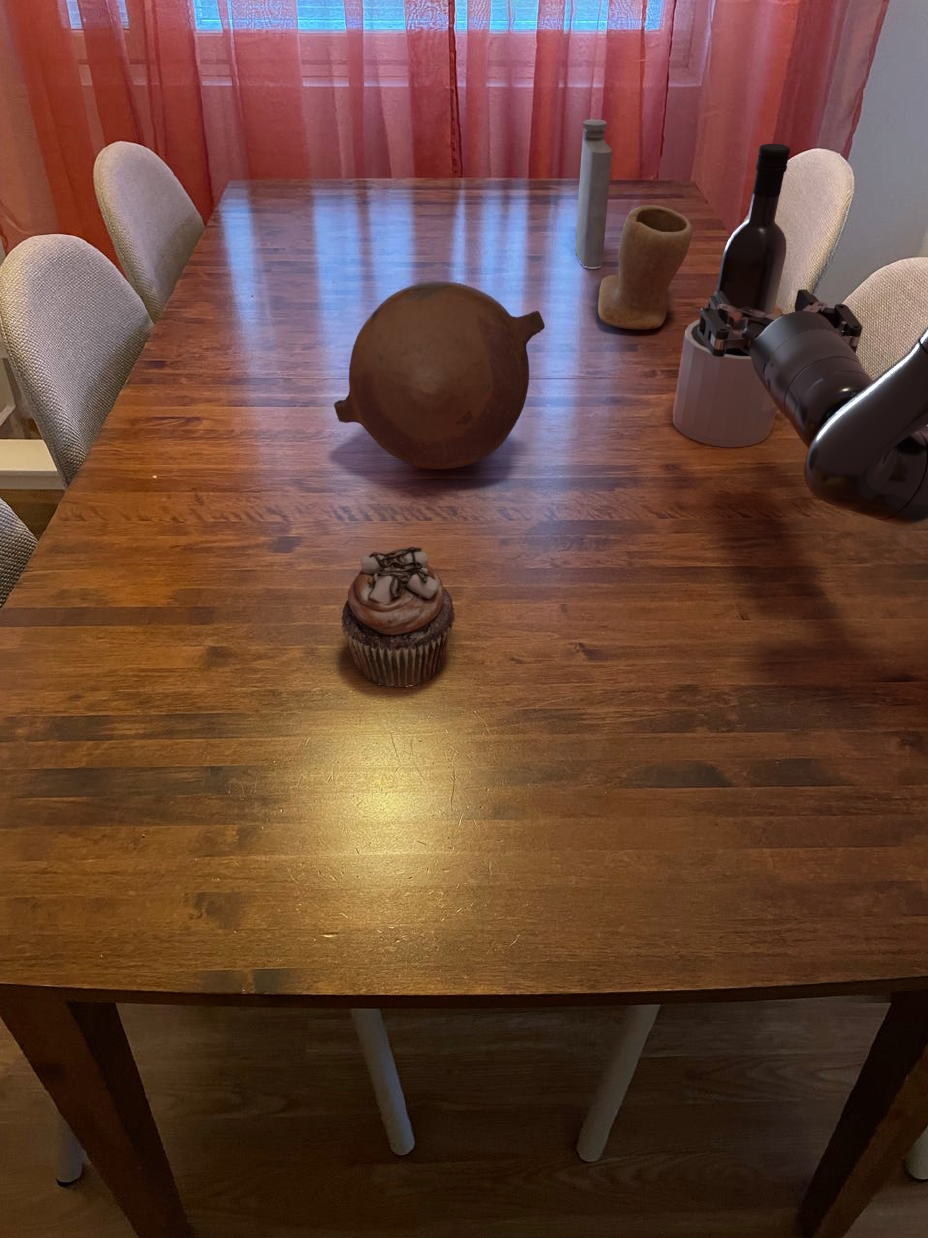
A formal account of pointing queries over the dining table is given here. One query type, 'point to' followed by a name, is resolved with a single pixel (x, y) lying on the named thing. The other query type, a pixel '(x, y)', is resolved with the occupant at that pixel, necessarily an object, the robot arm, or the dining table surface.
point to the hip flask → (593, 194)
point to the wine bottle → (757, 242)
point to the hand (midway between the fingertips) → (757, 299)
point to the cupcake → (398, 618)
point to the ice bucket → (720, 397)
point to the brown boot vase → (644, 268)
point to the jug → (439, 374)
